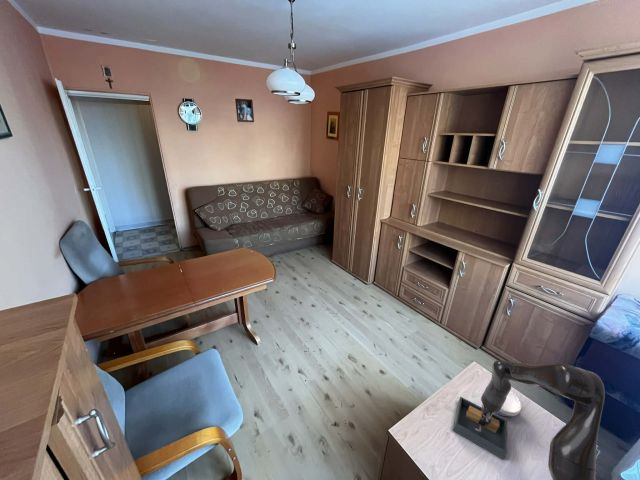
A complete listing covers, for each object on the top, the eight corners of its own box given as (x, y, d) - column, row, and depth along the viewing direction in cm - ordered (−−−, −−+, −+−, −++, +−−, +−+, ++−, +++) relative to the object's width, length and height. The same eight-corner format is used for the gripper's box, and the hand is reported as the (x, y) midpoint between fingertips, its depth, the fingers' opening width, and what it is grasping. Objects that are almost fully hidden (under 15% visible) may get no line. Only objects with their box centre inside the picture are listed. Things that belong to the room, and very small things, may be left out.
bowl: (485, 387, 141) (490, 378, 138) (517, 406, 133) (523, 397, 129) (479, 407, 131) (484, 398, 128) (513, 429, 123) (519, 419, 119)
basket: (501, 460, 111) (506, 453, 109) (452, 431, 121) (455, 424, 118) (502, 427, 123) (506, 420, 121) (457, 403, 132) (460, 396, 130)
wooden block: (495, 441, 114) (499, 434, 112) (464, 424, 120) (468, 417, 118) (495, 427, 119) (499, 420, 117) (466, 412, 125) (469, 405, 123)
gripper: (504, 415, 106) (489, 440, 114) (504, 389, 117) (491, 413, 124) (483, 405, 110) (470, 429, 117) (485, 380, 121) (473, 403, 128)
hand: (481, 420), depth 121 cm, fingers closed on wooden block, 3 cm apart
